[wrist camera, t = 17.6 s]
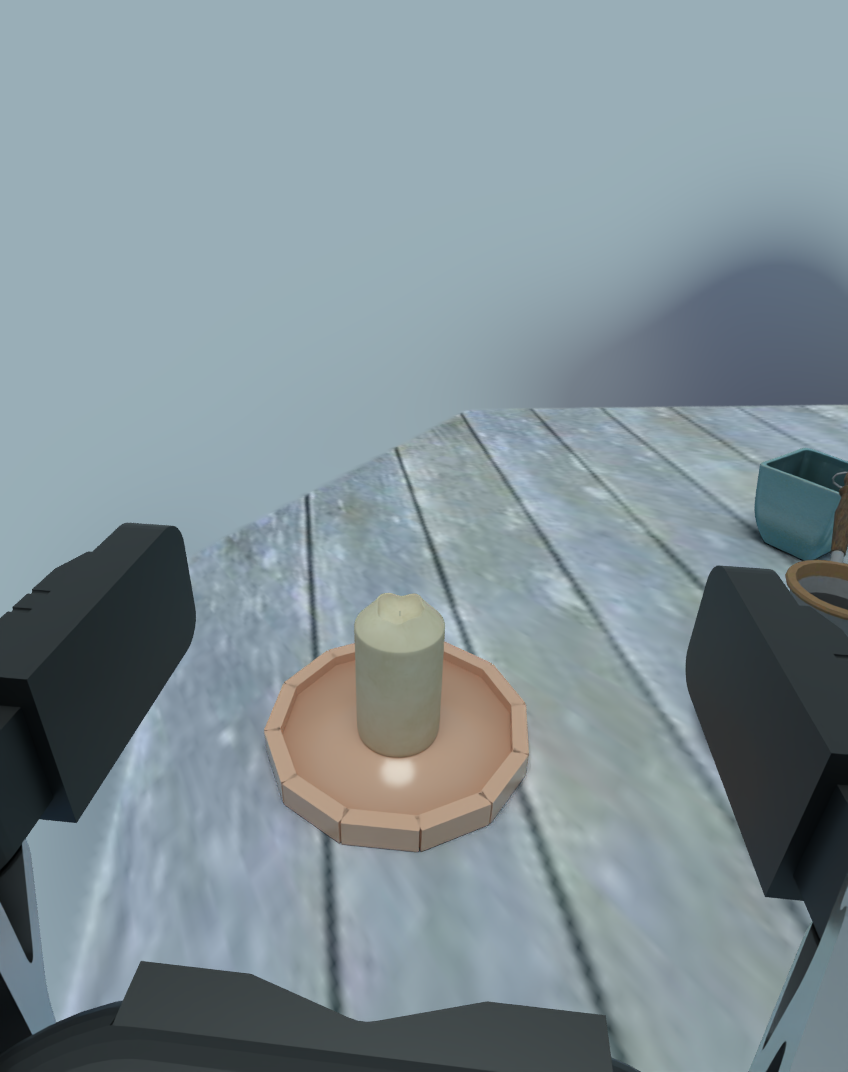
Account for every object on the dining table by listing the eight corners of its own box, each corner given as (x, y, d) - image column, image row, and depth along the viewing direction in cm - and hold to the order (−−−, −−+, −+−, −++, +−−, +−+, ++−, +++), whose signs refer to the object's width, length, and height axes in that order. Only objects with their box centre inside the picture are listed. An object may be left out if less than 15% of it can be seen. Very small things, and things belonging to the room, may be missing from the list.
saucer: (453, 635, 55) (454, 617, 54) (576, 790, 41) (580, 769, 40) (247, 690, 48) (244, 671, 47) (312, 894, 35) (310, 873, 34)
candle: (340, 726, 44) (334, 603, 39) (398, 687, 48) (400, 569, 43) (397, 773, 41) (399, 645, 36) (456, 727, 44) (465, 604, 39)
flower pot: (815, 578, 64) (847, 495, 60) (735, 540, 71) (758, 462, 66) (861, 554, 69) (893, 475, 64) (781, 520, 75) (806, 446, 71)
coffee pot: (884, 845, 38) (1001, 641, 31) (680, 766, 43) (740, 573, 36) (870, 647, 55) (945, 483, 48) (724, 605, 60) (771, 450, 52)
